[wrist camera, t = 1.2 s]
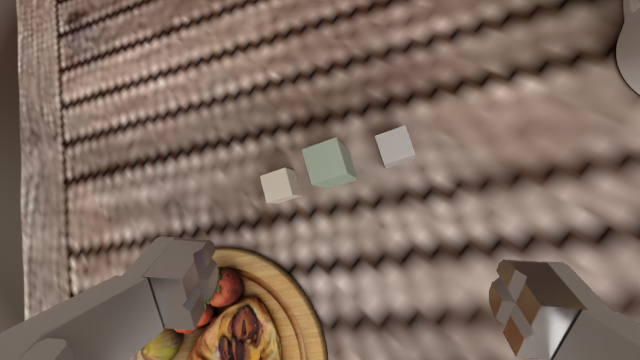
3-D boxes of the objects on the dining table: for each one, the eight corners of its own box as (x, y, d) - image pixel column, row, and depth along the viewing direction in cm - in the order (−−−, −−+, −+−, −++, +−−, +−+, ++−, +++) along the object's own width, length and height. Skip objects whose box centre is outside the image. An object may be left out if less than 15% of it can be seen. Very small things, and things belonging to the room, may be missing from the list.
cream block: (294, 170, 46) (285, 167, 42) (301, 195, 45) (292, 194, 41) (271, 178, 47) (259, 176, 43) (278, 203, 46) (266, 203, 42)
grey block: (405, 132, 42) (405, 125, 38) (414, 159, 41) (415, 154, 38) (377, 142, 43) (374, 135, 39) (386, 168, 42) (384, 164, 39)
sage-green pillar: (348, 150, 44) (336, 137, 36) (357, 179, 43) (347, 172, 35) (320, 160, 45) (301, 149, 37) (328, 188, 44) (311, 184, 36)
